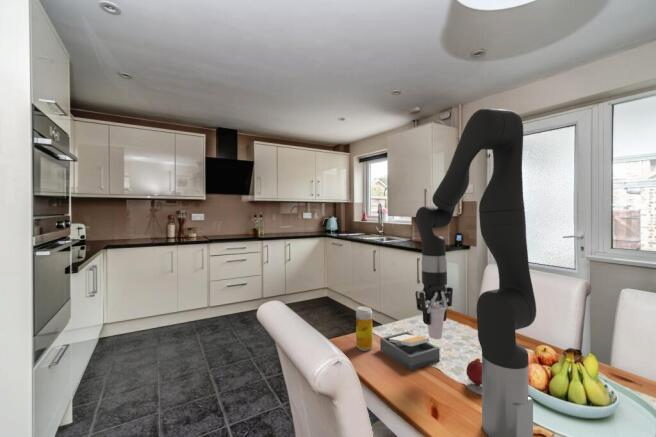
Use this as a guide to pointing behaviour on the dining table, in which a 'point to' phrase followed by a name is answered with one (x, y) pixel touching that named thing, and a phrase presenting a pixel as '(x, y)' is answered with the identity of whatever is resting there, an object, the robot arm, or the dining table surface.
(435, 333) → the smoothie
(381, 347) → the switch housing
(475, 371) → the onion
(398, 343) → the plate
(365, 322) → the glass of beer
